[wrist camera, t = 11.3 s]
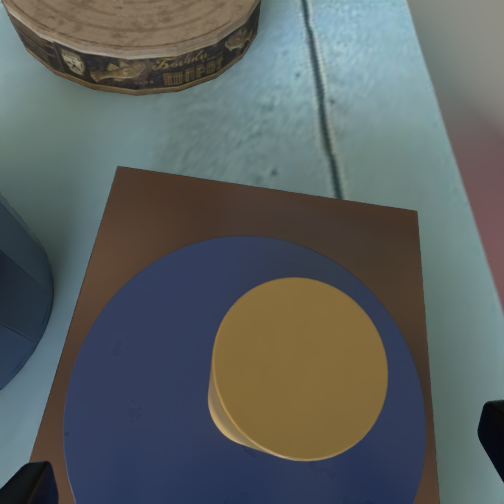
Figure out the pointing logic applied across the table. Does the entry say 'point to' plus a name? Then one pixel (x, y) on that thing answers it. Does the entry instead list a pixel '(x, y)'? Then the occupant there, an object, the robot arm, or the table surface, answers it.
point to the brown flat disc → (136, 40)
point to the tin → (21, 292)
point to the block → (243, 224)
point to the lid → (244, 385)
